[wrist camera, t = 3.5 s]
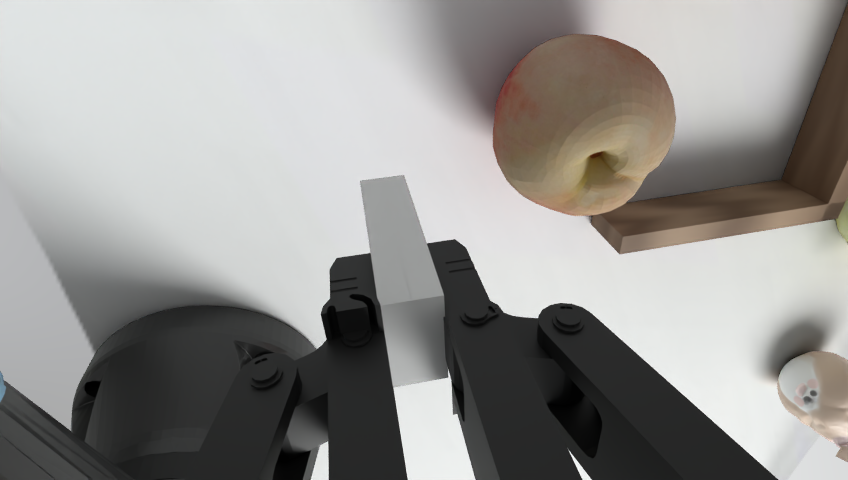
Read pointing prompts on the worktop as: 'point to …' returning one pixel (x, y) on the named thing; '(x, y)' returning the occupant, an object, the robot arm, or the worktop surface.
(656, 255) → the worktop surface
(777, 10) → the worktop surface
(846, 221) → the mug
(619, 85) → the fruit
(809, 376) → the garlic bulb
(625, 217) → the wooden frame
